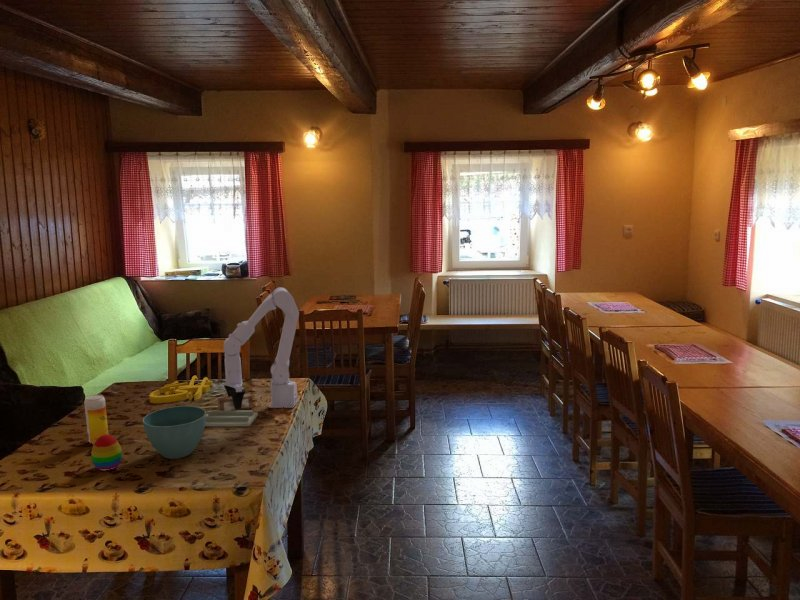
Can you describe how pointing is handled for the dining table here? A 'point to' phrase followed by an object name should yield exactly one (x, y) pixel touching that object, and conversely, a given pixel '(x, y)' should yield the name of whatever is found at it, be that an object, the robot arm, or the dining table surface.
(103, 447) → the decorative egg
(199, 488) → the dining table surface
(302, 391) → the dining table surface
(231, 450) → the dining table surface
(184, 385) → the decorative art
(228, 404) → the brown box
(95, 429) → the yellow bottle
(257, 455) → the dining table surface
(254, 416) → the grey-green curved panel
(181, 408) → the teal bowl
